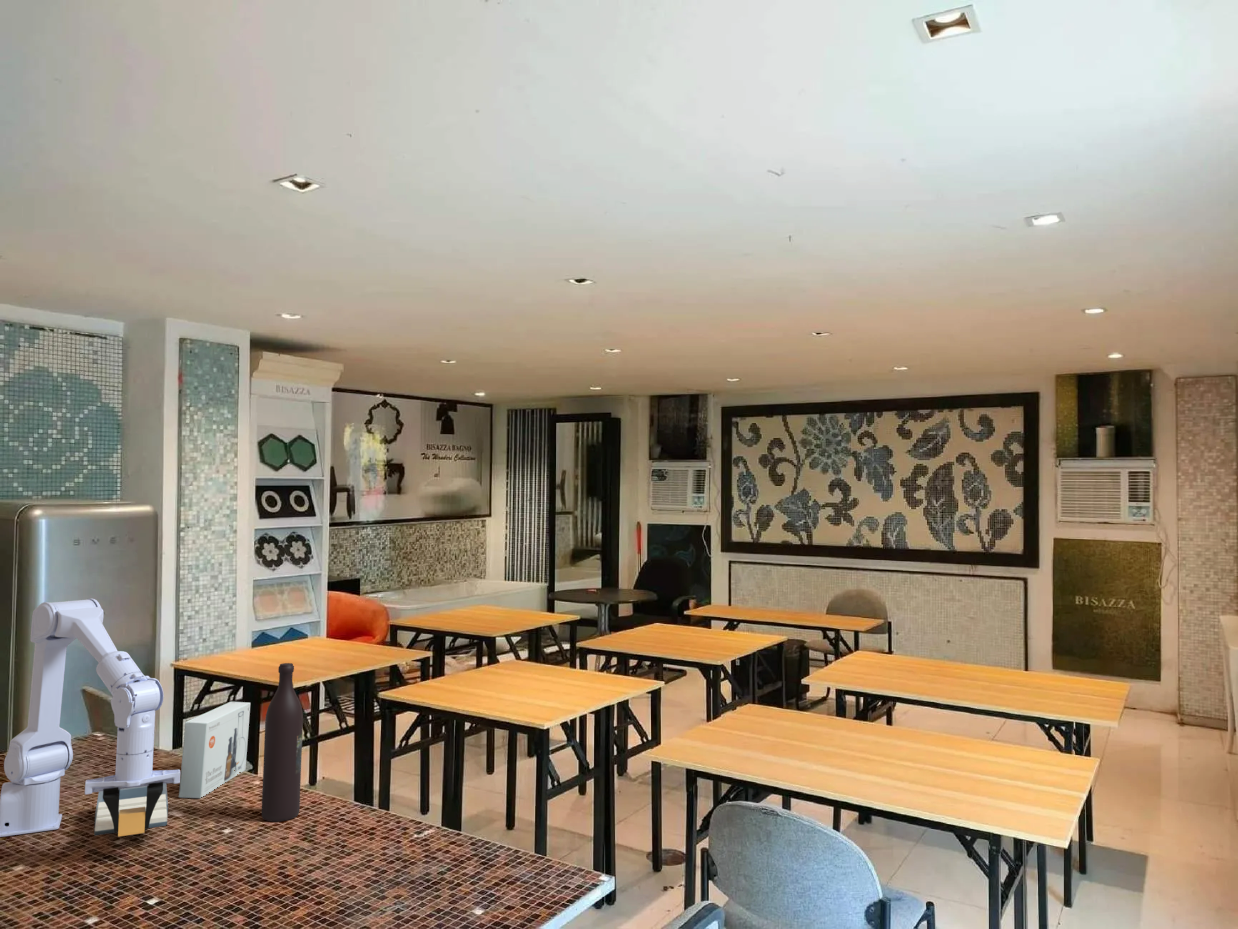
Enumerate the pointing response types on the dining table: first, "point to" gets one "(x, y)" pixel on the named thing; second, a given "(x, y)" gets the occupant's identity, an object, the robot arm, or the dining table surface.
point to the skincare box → (214, 749)
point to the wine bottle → (282, 751)
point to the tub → (129, 794)
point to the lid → (131, 815)
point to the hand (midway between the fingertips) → (131, 829)
